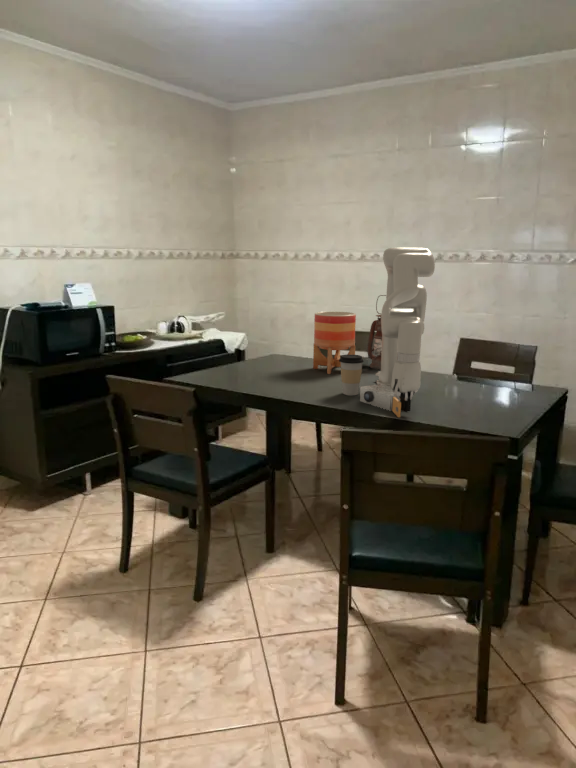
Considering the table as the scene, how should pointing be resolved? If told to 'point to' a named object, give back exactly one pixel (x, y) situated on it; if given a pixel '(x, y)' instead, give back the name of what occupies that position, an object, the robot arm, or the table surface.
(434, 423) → the table surface
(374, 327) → the lantern
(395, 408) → the side door
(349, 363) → the coffee cup
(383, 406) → the camera case
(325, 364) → the planter
